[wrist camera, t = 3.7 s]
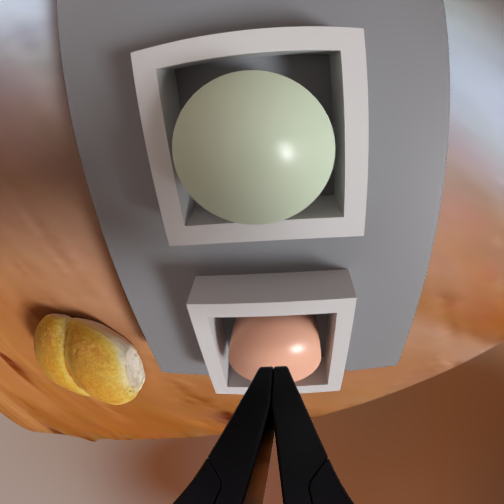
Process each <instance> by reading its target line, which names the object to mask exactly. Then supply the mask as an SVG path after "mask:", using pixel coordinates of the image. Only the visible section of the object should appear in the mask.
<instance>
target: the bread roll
mask: <svg viewBox="0 0 504 504" xmlns="http://www.w3.org/2000/svg"><path fill="white" fill-rule="evenodd" d="M34 350H35V354H36V358H37V361H38V363H39V365H40V367H41V369H42V370H43V371H44V373H45V374H46V375H47V376H48V378H49V379H50V380H52V381H53V382H54V383H56V384H58V385H60V386H62V387H64V388H66V389H68V390H70V391H73V392H75V393H78V394H81V395H84V396H92V397H93V398H95V399H97V400H100V401H102V402H105V403H108V404H112V405H121V404H124V403H126V402H129V401H131V400H133V399H134V398H135V396H136V395H137V394H138V391H139V390H140V389H141V388H142V385H143V383H144V381H145V372H144V369H143V364H142V360H141V359H140V356H139V354H138V353H137V351H136V349H135V347H134V346H133V345H132V344H131V343H130V342H129V341H128V340H127V339H126V338H124V337H123V336H122V335H120V334H118V333H117V332H115V331H113V330H112V329H110V328H108V327H107V326H105V325H103V324H101V323H99V322H96V321H92V320H88V319H82V318H71V317H70V316H68V315H65V314H55V313H54V314H48V315H46V316H45V317H44V318H43V319H42V320H41V321H40V322H39V324H38V326H37V328H36V331H35V334H34Z"/></svg>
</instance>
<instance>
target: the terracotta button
mask: <svg viewBox="0 0 504 504" xmlns="http://www.w3.org/2000/svg"><path fill="white" fill-rule="evenodd" d="M228 358H229V362H230V365H231V366H232V368H233V369H234V370H235V371H236V372H237V373H238V374H240V375H241V376H243V377H244V378H246V379H248V380H251V381H252V380H253V378H254V376H255V374H256V373H257V371H258V369H259V368H260V367H269V366H271V367H273V368H274V367H275V366H287V367H288V369H289V371H290V373H291V375H292V378H293V380H294V382H296V381H299V380H301V379H303V378H305V377H307V376H309V375H310V374H312V373H313V372H314V371H315V370H316V369H317V367H318V366H319V364H320V361H321V348H320V339H319V331H318V324H317V321H316V319H315V317H314V316H313V314H308V315H288V316H262V317H236V318H235V320H234V323H233V328H232V334H231V341H230V347H229V355H228Z"/></svg>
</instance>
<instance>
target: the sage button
mask: <svg viewBox="0 0 504 504" xmlns="http://www.w3.org/2000/svg"><path fill="white" fill-rule="evenodd" d="M172 154H173V161H174V165H175V169H176V172H177V174H178V177H179V179H180V181H181V183H182V184H183V186H184V188H185V189H186V190H187V192H188V193H189V194H190V196H191V197H192V198H193V199H194V200H195V201H196V202H197V203H198V204H199V205H201V206H202V207H203V208H204V209H206V210H207V211H209V212H211V213H212V214H214V215H216V216H218V217H220V218H222V219H225V220H228V221H231V222H235V223H240V224H248V225H262V224H270V223H275V222H279V221H282V220H285V219H287V218H290V217H292V216H294V215H296V214H298V213H299V212H301V211H302V210H304V209H305V208H306V207H308V206H309V205H310V204H311V203H312V202H313V201H314V200H315V199H316V198H317V197H318V196H319V194H320V193H321V192H322V190H323V189H324V187H325V186H326V184H327V182H328V180H329V178H330V175H331V172H332V169H333V165H334V160H335V137H334V133H333V128H332V125H331V123H330V120H329V117H328V115H327V114H326V112H325V110H324V108H323V107H322V105H321V104H320V103H319V101H318V100H317V99H316V98H315V97H314V96H313V95H312V94H311V93H310V92H309V91H308V90H307V89H306V88H304V87H303V86H301V85H300V84H299V83H297V82H295V81H293V80H292V79H290V78H287V77H285V76H282V75H280V74H276V73H272V72H268V71H260V70H244V71H238V72H232V73H229V74H226V75H223V76H220V77H218V78H216V79H214V80H212V81H210V82H209V83H207V84H206V85H204V86H203V87H201V88H200V89H199V90H198V91H197V92H196V93H194V94H193V96H192V97H191V98H190V99H189V100H188V101H187V103H186V104H185V106H184V107H183V109H182V110H181V112H180V114H179V117H178V119H177V121H176V124H175V128H174V132H173V138H172Z"/></svg>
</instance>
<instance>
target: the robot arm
mask: <svg viewBox="0 0 504 504" xmlns="http://www.w3.org/2000/svg"><path fill="white" fill-rule="evenodd" d="M274 433H275V438H276V446H277V455H278V463H279V471H280V480H281V487H282V497H283V504H354V503H353V501H352V500H351V498H350V497H349V496H348V494H347V492H346V491H345V489H344V487H343V486H342V484H341V482H340V480H339V478H338V477H337V475H336V472H335V471H334V469H333V467H332V464H331V462H330V460H329V459H328V456H327V453H326V452H325V449H324V447H323V445H322V443H321V440H320V438H319V436H318V434H317V431H316V429H315V427H314V425H313V423H312V420H311V418H310V416H309V414H308V411H307V409H306V407H305V405H304V402H303V400H302V398H301V396H300V393H299V391H298V389H297V387H296V384H295V382H294V380H293V378H292V375H291V373H290V371H289V369H288V367H287V366H275V367H274V368H273V367H271V366H269V367H260V368H259V369H258V371H257V373H256V374H255V376H254V378H253V380H252V382H251V384H250V385H249V387H248V389H247V391H246V392H245V394H244V396H243V398H242V400H241V401H240V403H239V405H238V407H237V408H236V410H235V412H234V414H233V415H232V417H231V419H230V420H229V422H228V424H227V426H226V427H225V429H224V431H223V432H222V434H221V436H220V437H219V439H218V441H217V443H216V444H215V446H214V447H213V449H212V451H211V452H210V454H209V456H208V458H209V459H208V458H207V459H206V461H205V462H204V463H203V465H202V467H201V468H200V470H199V471H198V473H197V474H196V476H195V477H194V478H193V480H192V482H191V483H190V484H189V485H188V486H187V488H186V489H185V490H184V491H183V492H182V494H181V495H180V496H179V497H178V498H177V499H176V500H175V502H174V503H173V504H263V499H264V493H265V488H266V483H267V477H268V471H269V465H270V459H271V453H272V447H273V440H274Z"/></svg>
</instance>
